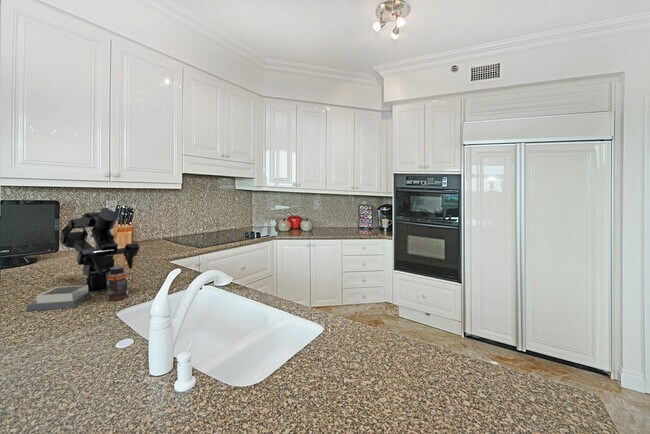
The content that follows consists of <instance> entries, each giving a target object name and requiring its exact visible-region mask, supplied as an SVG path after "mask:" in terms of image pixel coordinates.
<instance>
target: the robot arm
mask: <svg viewBox="0 0 650 434" xmlns="http://www.w3.org/2000/svg"><path fill="white" fill-rule="evenodd" d="M118 218H119V215H118V213H117V212H115V211H113V210H111V209H109V207H102V208H101V210H100V211H98V212H97V211H96V212H84V214H82V215H81V217H79V218H78V217H77V218H71V219H69V220H68V222H67V225H65V227H64V228H63V229H61V232H60V235H59V241H60V244H61V245H62V246H64V247H65V248H68V249H74V250H75V251H76V252H77V256H76V263H77V265H78V266H82V265H83V267H82V272H83V276H87V278H86V285H88V291H92V292H93V291H94V292H95V291H106V290H107V289H108V279H107V276H108V275H109V274H110V268H112V267H115V260H114V259H115V258H114V256H118V255H123V256H124V260H126V262H127V266H128V268H129V270H132V269H133V259H134V258H135V257H136V256H137V254H138V252H139V251H140V249H141V248H140V244H139V243H138V242H133V243H126V244H125V246H124V248H123V247H122V248H118V246H119V245H118V242H117V243H116V241H115V235H114V234H113V233H112V232H111V230H113V229H114V228H115V224H116V223H117V221H118ZM86 228H91V230H90V232H91V235H90V236H91V237H92V238H93V239H94V240H93V241H94V243H95V247H94V246H92V245H91V244H90V243H89V241H87V239H88V235H89V233H88V231H87V229H86ZM73 229H74V230H75V229H82V231H80V230H78V231H72V230H73Z"/></svg>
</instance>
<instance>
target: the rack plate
mask: <svg viewBox="0 0 650 434" xmlns="http://www.w3.org/2000/svg"><path fill="white" fill-rule="evenodd" d="M35 297H36V298H35V300H34V301H32V302H30V303H28V304H26V312H32V311H34V312H35V311H45V310H46V311H47V310H58V309H57V308H61V309H67V308H66V307H74V308H75V306H76V307H77V306H79V305H80V304H82V303H84V302H85V301H86V300H88V299H89V298H91V297H92V292H91V291H88V285H87V284H82V285H68V286H67V285H66V286H55V287H53V288H51V289H49V290H47V291H44V292H42V293H40V294H38V295H36V296H35ZM81 302H82V303H81ZM78 304H79V305H78Z"/></svg>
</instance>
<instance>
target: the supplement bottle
mask: <svg viewBox="0 0 650 434" xmlns="http://www.w3.org/2000/svg"><path fill="white" fill-rule="evenodd" d="M124 268H125V267H124V266H122V265H120V266H119V265H118V266H114V267H112V268H110V272H109V275H108V276H107V279H108V288H107V289H108V290H107V291H108V293H107V294H108V300H110V301H119V300H123V299H126V298H128V297H129V286H128V285H129V283H128V273H127V272H126V271H124V270H125V269H124Z"/></svg>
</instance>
